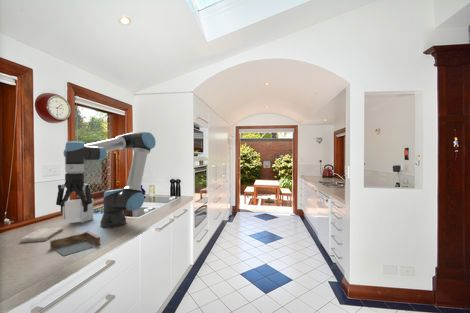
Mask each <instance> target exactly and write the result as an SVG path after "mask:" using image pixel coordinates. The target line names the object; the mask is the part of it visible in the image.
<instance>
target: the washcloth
mask: <svg viewBox="0 0 470 313" xmlns="http://www.w3.org/2000/svg"><path fill="white" fill-rule="evenodd" d="M61 232H64V227H62V226H61V227H46V228H45V227H44V228H40V229H37V230H34V231H32V232H30V233H28V234H27V235H25V236H23V237H21V239H20V241H19V242H20V243H21V244H22V243H35V242H47V241H48V240H50V239H51V238H52V239H53V237H55V236H57V235H58V234H60V233H61Z"/></svg>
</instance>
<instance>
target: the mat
mask: <svg viewBox="0 0 470 313" xmlns="http://www.w3.org/2000/svg"><path fill="white" fill-rule="evenodd" d="M92 248H93V246H92V245H91V244H89V243H88V242H86V241H85V240H84V241H80V242H77V243H73V244H69V245H66V246H62V247H58V248H55V249H54V251H56V252H58V254H60V255H61V256H62V257H66V256H69V255H73V254H75V253H79V252H83V251H85V250H89V249H92Z"/></svg>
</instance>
